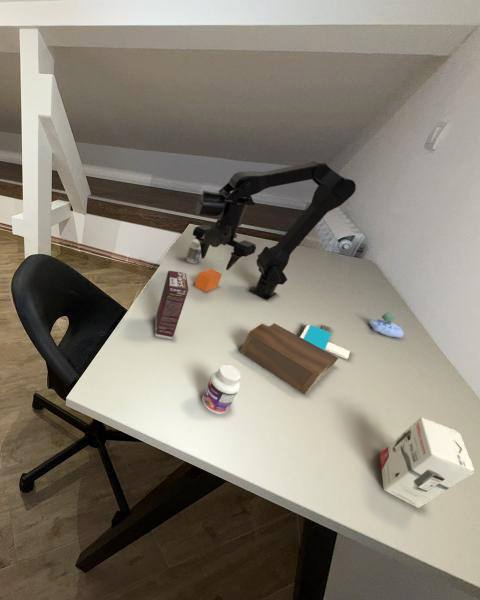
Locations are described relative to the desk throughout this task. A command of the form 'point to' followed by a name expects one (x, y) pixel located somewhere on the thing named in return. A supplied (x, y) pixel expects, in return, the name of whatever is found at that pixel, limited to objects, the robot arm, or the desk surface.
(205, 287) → the orange block
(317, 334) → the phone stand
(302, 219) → the robot arm
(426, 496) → the ink box
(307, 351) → the step shelf
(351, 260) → the desk surface
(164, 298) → the supplement box
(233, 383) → the pill bottle
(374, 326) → the figurine
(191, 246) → the pill bottle
